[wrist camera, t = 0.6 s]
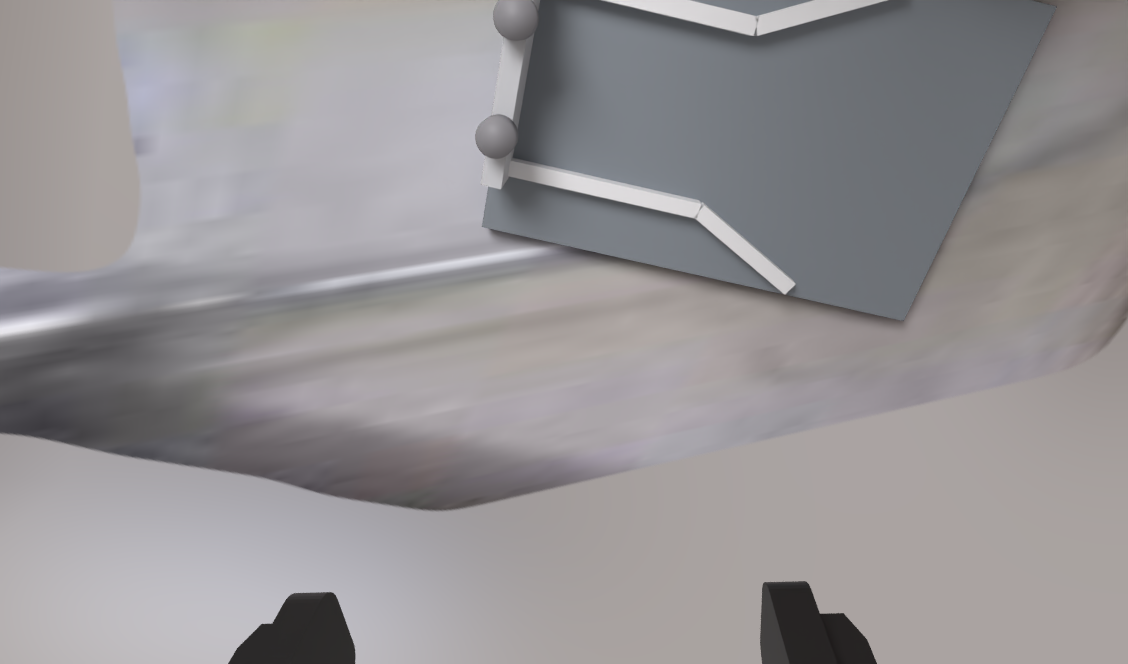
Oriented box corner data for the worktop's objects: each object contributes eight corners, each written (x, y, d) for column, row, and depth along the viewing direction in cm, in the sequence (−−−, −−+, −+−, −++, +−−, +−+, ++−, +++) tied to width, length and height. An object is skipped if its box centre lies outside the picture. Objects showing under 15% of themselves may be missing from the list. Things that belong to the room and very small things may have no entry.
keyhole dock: (531, -118, 29) (517, -147, 24) (1043, 7, 30) (1125, 2, 25) (477, 220, 36) (458, 248, 31) (896, 313, 37) (939, 355, 32)
